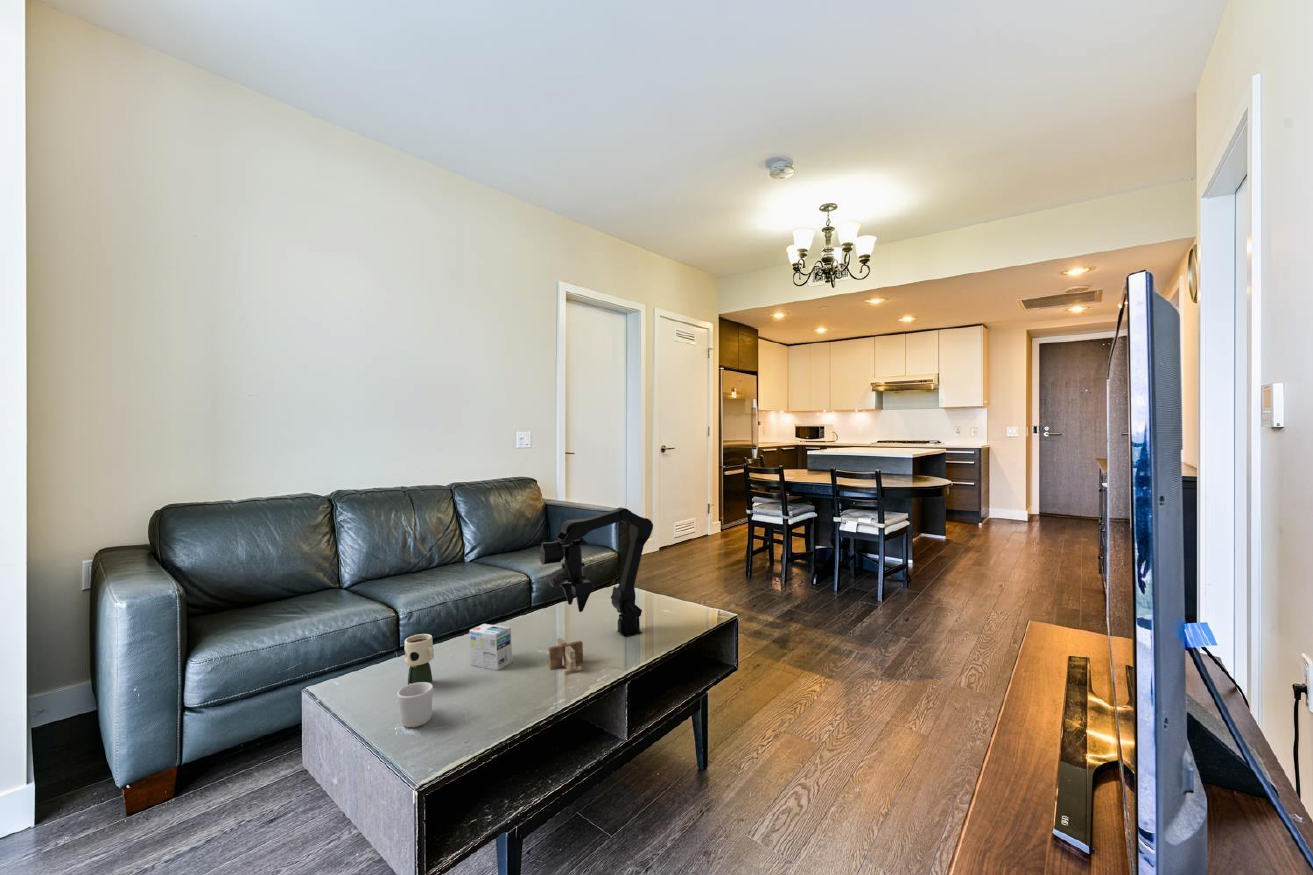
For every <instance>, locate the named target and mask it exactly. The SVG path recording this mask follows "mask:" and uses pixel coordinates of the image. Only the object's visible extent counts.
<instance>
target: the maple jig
mask: <svg viewBox="0 0 1313 875" xmlns="http://www.w3.org/2000/svg"><path fill="white" fill-rule="evenodd" d="M556 642H557V643H556V644H557V645H556V646H558V645H563V644H567V641H565V639H564V638H562V637H560V638H556ZM562 665H563V666H564V667H565V668H564V669H562V673H563V674H564V675H569V674H572V673H577V672H578V673H579V672H581V671H582V666H580V665H578V666H576V664H575V651H574V650H573V649H572V648H571V647H570V646H566V647H565V656H563V657H562Z"/></svg>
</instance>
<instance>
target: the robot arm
mask: <svg viewBox="0 0 1313 875" xmlns="http://www.w3.org/2000/svg"><path fill="white" fill-rule="evenodd" d="M619 522H623V523H624V524H625V525H628V526H629V529H628V534H629V539H630V543H629V547H628V550H627V556H626V559H625V564H624V568H623V573H622V577H621V580H620V583H619V584H618V585H617V587H616V586H613V588H612V594H611V596H610V599H611V605H612V606H613V608H614V609H616V611H617V613H619V614H618V619H617V630H616V632H618V633H619V634H620V635H621V636H623V637H626V638H627V637H630V636H634V635H639V634H642V633H643V632H642V630H640V626H641V625H640V617H641V616H642V611H643V610H642V609H641V608H640V607H639V606H638V605H636V596H637V595H636V590H635V584H636V581H637V577H638V572H639V567H640V564H641V560H642V559H641V558H642V555H643V551H644V547H645V544H646V543H647V541H648V540H649V539H650V537H651V535H652V532H653V529H654V523H653V522H652V520H651V519H650V518H646V517H643V516H639V515H637V514H635V513H634V512H632V511H630V509H628V508H625V507H618V508H616V509H613V510H609V511H607V512H603V513H600V514H597V515H594V516H590V517H588V518H587V517H586V518H574V519H568V520H565V521H564V522H562V524H561V526H560V530H559V533H558V534H557V536H556V537H555V539H554V541H549V542H546V541H545V542H541V543H540V546H541V547H540V549H539V553H538V554H539V559H540V560H539V561H540V563H541V565H542V566H544V565H551V564H556V563H557V564H558V563H561V562H562V561H563V562H562V564H561V568H559V569H558V570H555V571H553V572H552V573H549V574H548V575H546V579H547V581H548V583H549V586H550V587H552V588H553V589H555V588H558V587H559V586H560V587H562V589H563V592H564V595H565V599H566V601H567V605H569V606H570V605H573V601H574V597H575V598H576V603H577V609H578V612H579V613H582V612H583V611H584V608H585V607H586V604H587V603H588V602H587V601H588V599H589V597H590V595H591V594H592V593H593V591H595V584H594V583H593V582H592V581H591V580H590V579H586V575H585V574H584V573H583V567H585V562H583V553H582V552H583V550H582V549H583V548H582V546H587V545H588V544H589V542H587V541H586V540H585V539H584V537H585V536H587V535H588V534H589V533H590V532H592V531H594V530H598V529H601V528H604V527H607V526H610V525H612V524H616V523H619Z"/></svg>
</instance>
